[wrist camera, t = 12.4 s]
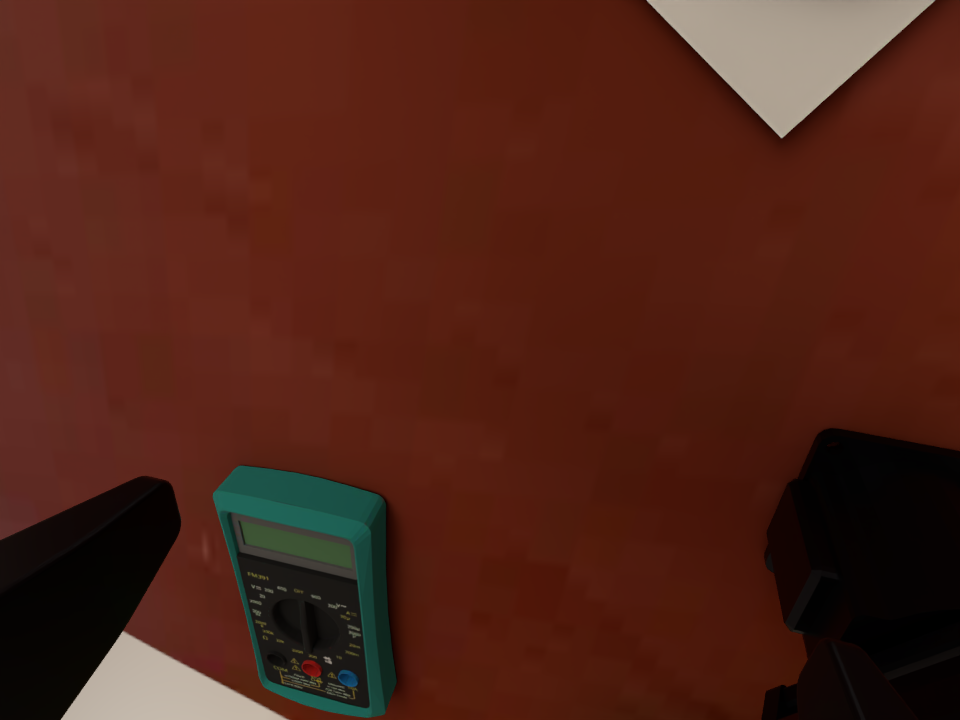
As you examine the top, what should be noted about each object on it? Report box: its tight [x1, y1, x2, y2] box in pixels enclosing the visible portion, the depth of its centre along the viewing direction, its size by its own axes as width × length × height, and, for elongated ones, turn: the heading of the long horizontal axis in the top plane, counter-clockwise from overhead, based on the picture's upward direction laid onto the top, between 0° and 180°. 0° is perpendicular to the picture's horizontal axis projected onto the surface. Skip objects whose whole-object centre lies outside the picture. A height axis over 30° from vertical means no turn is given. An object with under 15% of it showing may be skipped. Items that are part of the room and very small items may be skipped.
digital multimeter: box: [213, 466, 397, 718], centre depth 31 cm, size 7×15×3 cm, turn 178°
